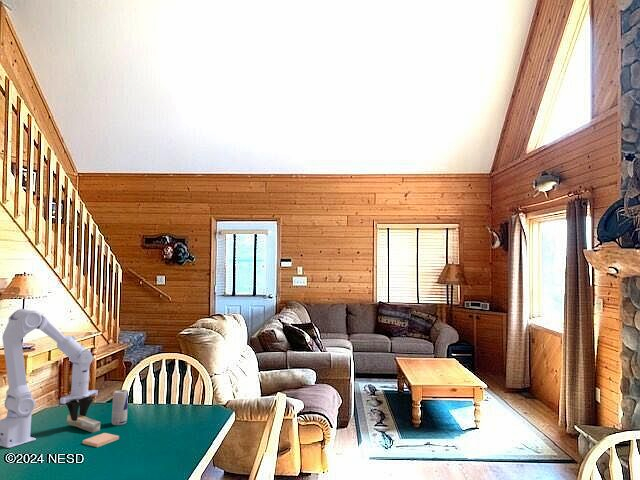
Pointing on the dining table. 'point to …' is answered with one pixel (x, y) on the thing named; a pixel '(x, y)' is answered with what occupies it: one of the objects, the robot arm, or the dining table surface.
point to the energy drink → (119, 407)
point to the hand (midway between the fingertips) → (78, 419)
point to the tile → (100, 439)
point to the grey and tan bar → (85, 423)
